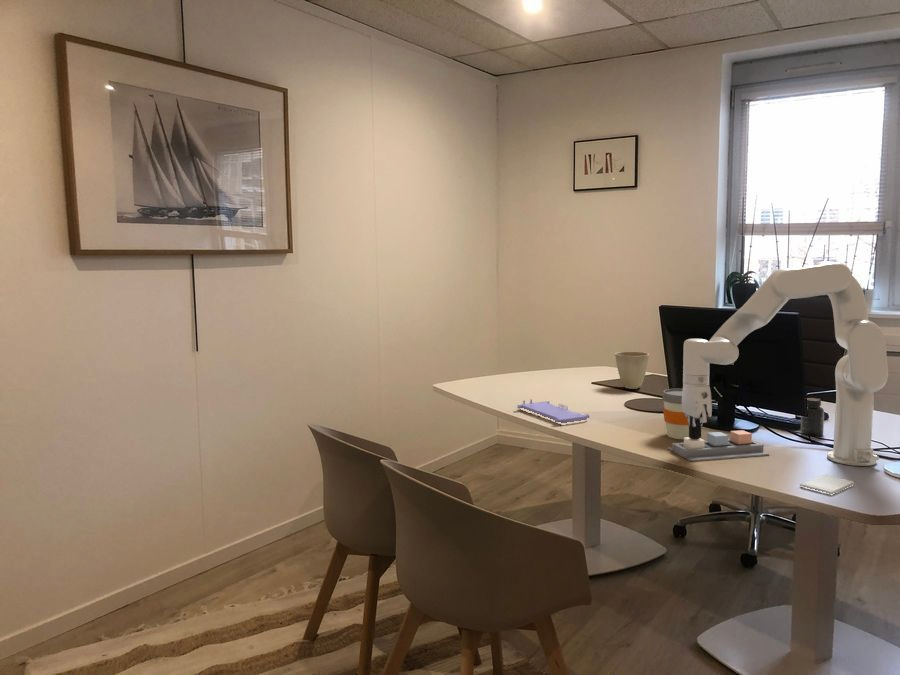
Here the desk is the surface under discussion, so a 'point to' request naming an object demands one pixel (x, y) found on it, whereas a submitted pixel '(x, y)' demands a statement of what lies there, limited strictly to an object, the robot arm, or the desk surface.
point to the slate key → (717, 438)
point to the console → (719, 451)
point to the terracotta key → (741, 437)
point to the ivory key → (693, 443)
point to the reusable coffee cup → (675, 414)
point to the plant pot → (632, 367)
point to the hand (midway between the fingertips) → (694, 438)
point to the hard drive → (827, 484)
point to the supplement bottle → (813, 418)
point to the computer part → (553, 411)
